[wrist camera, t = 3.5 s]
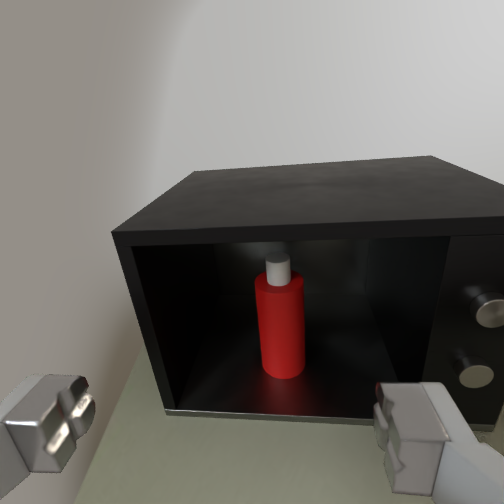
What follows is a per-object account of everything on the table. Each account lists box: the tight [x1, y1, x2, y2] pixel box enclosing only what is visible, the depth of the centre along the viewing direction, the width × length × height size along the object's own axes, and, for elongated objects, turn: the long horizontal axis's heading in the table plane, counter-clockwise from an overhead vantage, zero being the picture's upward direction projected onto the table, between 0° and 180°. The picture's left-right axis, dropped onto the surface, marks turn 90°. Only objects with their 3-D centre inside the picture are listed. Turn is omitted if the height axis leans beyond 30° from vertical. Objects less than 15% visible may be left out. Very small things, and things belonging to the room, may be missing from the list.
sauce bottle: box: [255, 252, 305, 379], centre depth 39 cm, size 6×6×16 cm
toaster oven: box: [111, 156, 504, 432], centre depth 41 cm, size 36×27×24 cm
